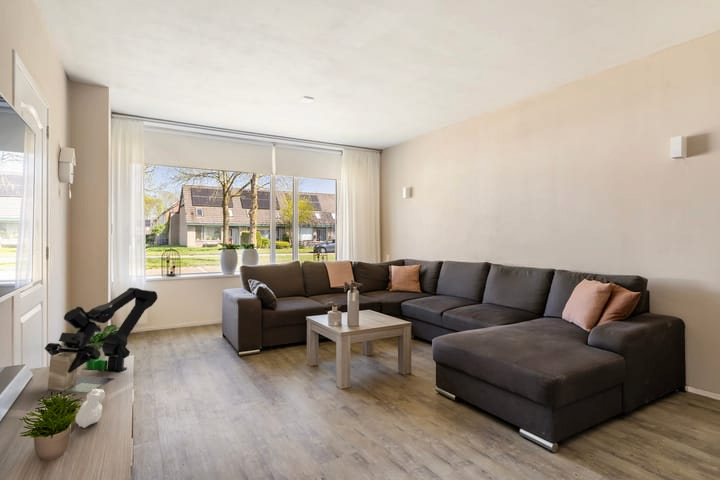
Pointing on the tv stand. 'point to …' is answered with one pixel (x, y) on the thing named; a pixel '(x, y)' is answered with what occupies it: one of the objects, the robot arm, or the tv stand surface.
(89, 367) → the green block
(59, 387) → the sleeve
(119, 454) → the tv stand surface
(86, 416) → the bust
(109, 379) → the peg plate
